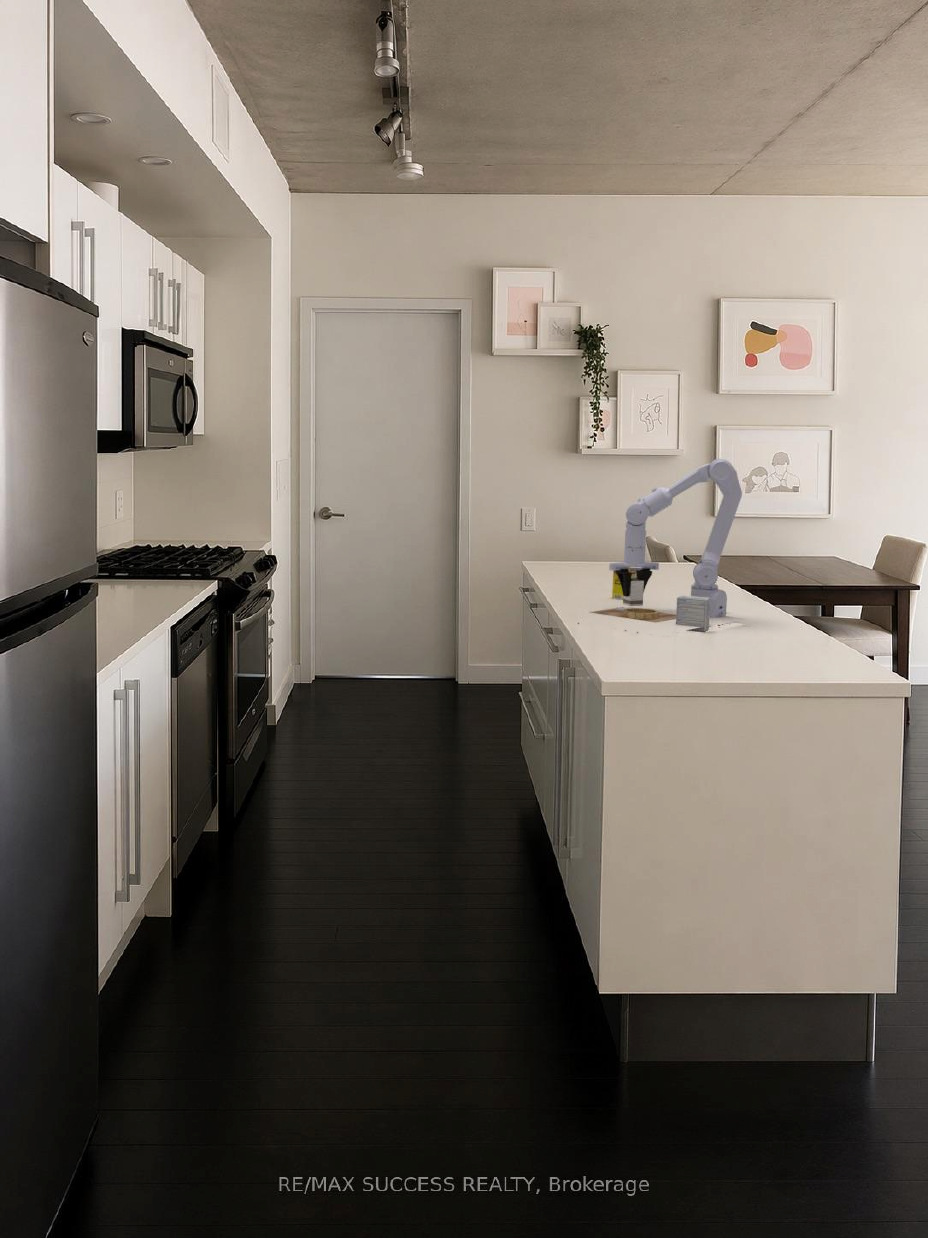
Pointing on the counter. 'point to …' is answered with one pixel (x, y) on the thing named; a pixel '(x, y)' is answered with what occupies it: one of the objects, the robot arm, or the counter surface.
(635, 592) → the steel post
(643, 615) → the brass eye
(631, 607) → the grey pad
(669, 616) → the walnut board
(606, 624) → the counter surface
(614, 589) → the supplement box
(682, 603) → the medicine box
